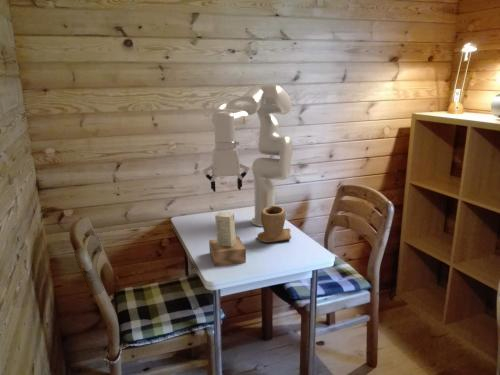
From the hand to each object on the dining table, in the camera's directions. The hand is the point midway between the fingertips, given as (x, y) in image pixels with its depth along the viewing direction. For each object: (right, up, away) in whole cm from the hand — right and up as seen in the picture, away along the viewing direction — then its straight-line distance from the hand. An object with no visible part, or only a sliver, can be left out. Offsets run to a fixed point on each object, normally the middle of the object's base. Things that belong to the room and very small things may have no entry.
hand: (226, 190), depth 155 cm
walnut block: (0, -27, +3) cm, 27 cm away
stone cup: (+20, -22, +20) cm, 35 cm away
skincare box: (0, -21, +1) cm, 21 cm away
